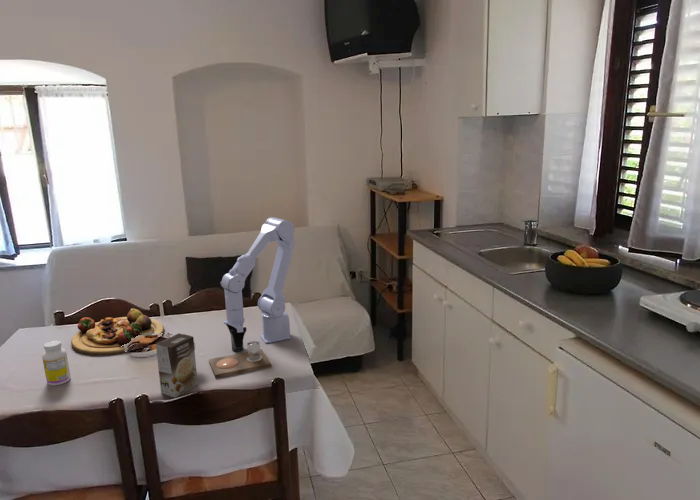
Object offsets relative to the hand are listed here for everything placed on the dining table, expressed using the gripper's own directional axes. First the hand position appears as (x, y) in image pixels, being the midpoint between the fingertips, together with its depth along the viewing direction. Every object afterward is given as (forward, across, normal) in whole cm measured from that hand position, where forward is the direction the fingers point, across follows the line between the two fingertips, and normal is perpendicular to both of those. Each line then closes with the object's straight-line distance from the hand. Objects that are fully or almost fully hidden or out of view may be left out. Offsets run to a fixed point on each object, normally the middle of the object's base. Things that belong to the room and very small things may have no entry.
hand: (237, 344), depth 191 cm
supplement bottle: (+2, -2, -56) cm, 56 cm away
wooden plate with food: (+3, -31, -38) cm, 49 cm away
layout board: (+2, +12, -2) cm, 12 cm away
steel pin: (+2, 0, 0) cm, 2 cm away
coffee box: (+2, +20, -22) cm, 30 cm away
